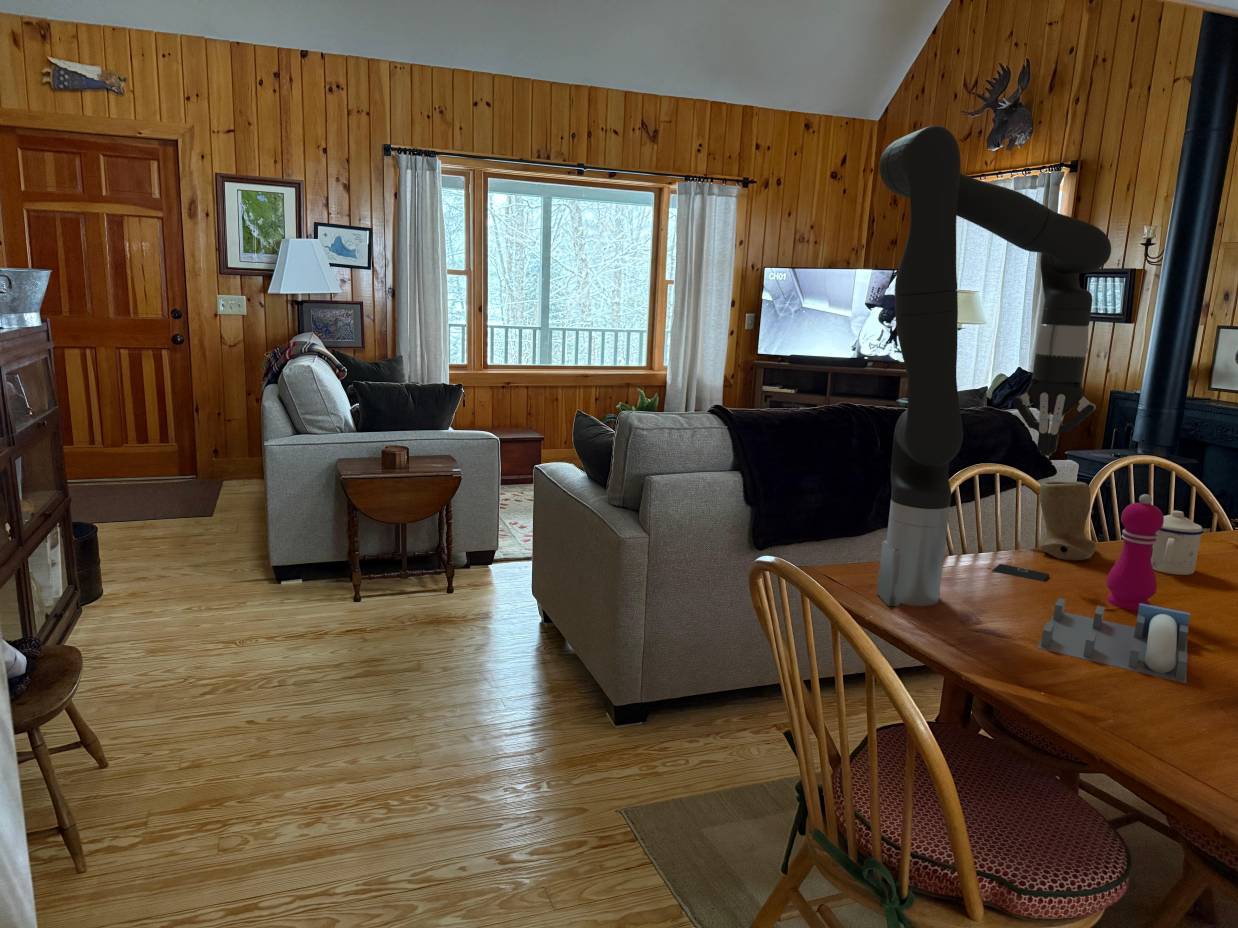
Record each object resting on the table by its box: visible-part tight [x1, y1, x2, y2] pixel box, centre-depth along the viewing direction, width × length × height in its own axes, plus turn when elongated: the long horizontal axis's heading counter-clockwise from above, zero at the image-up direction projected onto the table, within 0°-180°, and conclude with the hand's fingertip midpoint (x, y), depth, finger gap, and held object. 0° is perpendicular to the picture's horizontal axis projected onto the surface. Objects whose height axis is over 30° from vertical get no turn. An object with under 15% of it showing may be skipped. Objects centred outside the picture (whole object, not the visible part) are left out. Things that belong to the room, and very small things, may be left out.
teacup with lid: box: [1151, 510, 1204, 576], centre depth 162 cm, size 12×9×12 cm
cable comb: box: [1037, 597, 1191, 684], centre depth 123 cm, size 19×18×5 cm
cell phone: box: [991, 563, 1050, 583], centre depth 153 cm, size 9×18×1 cm, turn 142°
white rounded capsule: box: [1145, 614, 1177, 673], centre depth 120 cm, size 16×4×4 cm, turn 146°
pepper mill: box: [1106, 493, 1164, 611], centre depth 139 cm, size 7×7×20 cm
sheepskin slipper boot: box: [1039, 480, 1097, 561], centre depth 172 cm, size 15×12×15 cm
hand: (1046, 455), depth 142 cm, fingers closed
